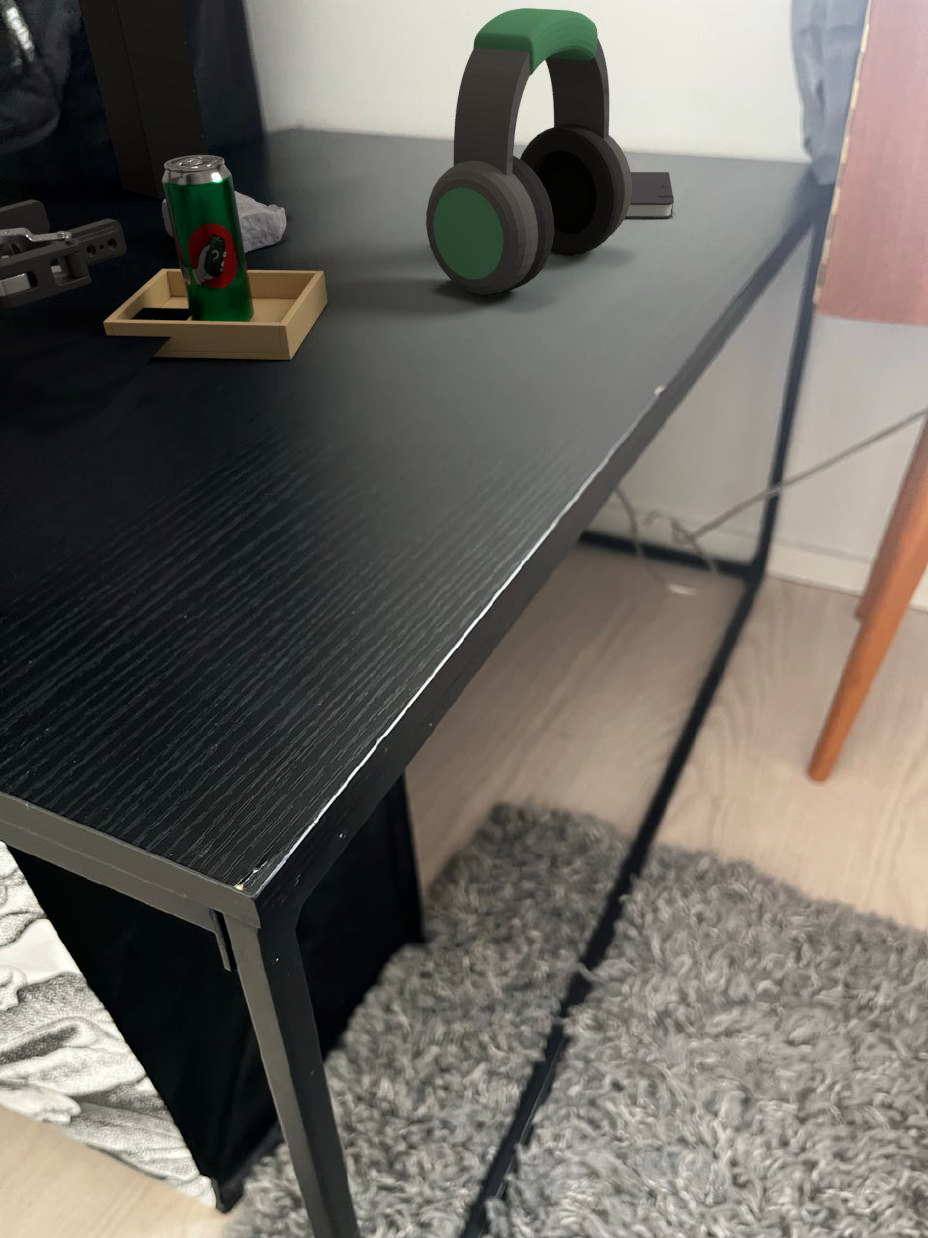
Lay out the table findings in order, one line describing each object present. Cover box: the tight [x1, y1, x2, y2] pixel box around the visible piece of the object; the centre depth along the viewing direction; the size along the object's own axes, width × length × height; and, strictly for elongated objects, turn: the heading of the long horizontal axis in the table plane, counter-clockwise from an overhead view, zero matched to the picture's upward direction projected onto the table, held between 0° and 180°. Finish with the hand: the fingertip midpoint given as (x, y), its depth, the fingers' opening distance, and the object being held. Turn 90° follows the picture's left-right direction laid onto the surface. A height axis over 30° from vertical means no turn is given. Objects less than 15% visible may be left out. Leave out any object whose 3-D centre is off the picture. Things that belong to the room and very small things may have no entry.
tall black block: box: [77, 0, 209, 200], centre depth 103 cm, size 8×8×28 cm
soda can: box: [162, 154, 254, 322], centre depth 72 cm, size 5×5×12 cm
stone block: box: [161, 190, 287, 254], centre depth 95 cm, size 12×5×10 cm
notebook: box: [624, 171, 675, 220], centre depth 102 cm, size 13×2×21 cm
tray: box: [102, 268, 329, 361], centre depth 76 cm, size 14×12×3 cm
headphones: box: [425, 7, 632, 295], centre depth 79 cm, size 19×11×20 cm, turn 143°
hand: (80, 224), depth 63 cm, fingers open, 8 cm apart
